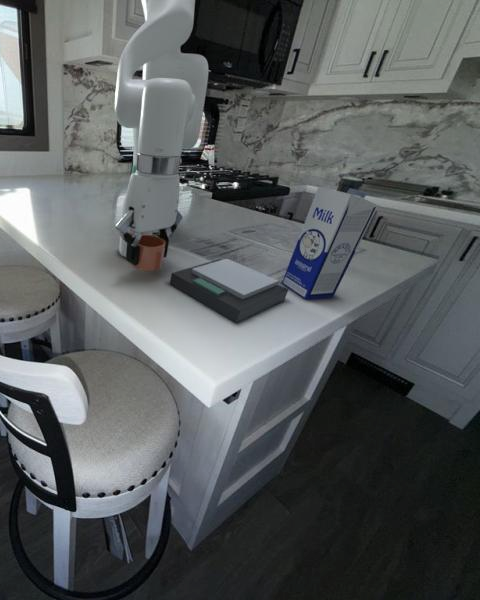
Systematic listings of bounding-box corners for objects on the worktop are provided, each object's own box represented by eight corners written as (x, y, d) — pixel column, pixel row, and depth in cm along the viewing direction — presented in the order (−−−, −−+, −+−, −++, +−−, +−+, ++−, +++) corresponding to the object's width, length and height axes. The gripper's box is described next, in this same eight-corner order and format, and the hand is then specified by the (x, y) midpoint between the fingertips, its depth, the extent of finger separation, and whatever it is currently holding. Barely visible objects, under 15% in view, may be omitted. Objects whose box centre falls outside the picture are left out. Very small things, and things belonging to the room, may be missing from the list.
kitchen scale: (169, 283, 62) (172, 268, 60) (217, 269, 70) (220, 254, 68) (236, 323, 51) (241, 305, 49) (284, 300, 59) (290, 284, 57)
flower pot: (123, 260, 64) (124, 237, 61) (147, 254, 67) (150, 232, 65) (143, 273, 59) (146, 249, 57) (169, 266, 63) (172, 243, 60)
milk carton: (280, 283, 65) (318, 184, 55) (307, 281, 67) (348, 185, 56) (305, 299, 59) (352, 193, 49) (334, 297, 61) (385, 193, 50)
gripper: (177, 160, 60) (165, 245, 70) (104, 164, 52) (101, 260, 61) (207, 166, 55) (189, 257, 65) (131, 172, 46) (123, 276, 56)
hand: (146, 258), depth 63 cm, fingers closed on flower pot, 6 cm apart
